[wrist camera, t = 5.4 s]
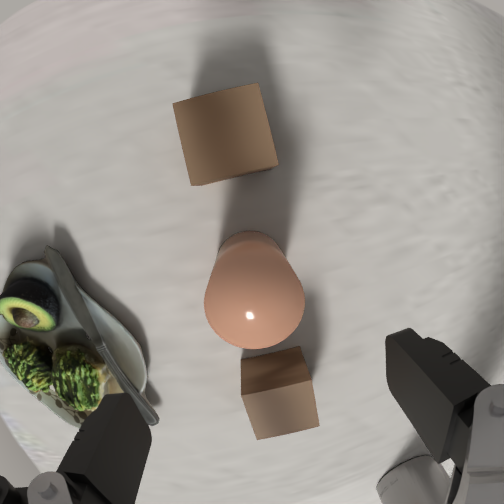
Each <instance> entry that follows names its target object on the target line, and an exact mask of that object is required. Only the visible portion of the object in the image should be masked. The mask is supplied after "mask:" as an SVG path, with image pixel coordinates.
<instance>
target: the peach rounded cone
mask: <svg viewBox="0 0 504 504" xmlns="http://www.w3.org/2000/svg"><path fill="white" fill-rule="evenodd" d="M304 307H305V296H304V291H303V287H302V285H301V283H300V281H299V279H298V277H297V276H296V274H295V272H294V271H293V269H292V267H291V266H290V264H289V262H288V261H287V259H286V258H285V256H284V254H283V253H282V251H281V249H280V248H279V246H278V245H277V243H276V242H275V241H274V240H273V239H272V238H270V237H269V236H267V235H265V234H263V233H261V232H256V231H244V232H240V233H237V234H235V235H233V236H231V237H230V238H229V239H227V240H226V241H225V242H224V243H223V245H222V246H221V248H220V250H219V252H218V255H217V258H216V261H215V264H214V267H213V270H212V273H211V276H210V280H209V283H208V286H207V289H206V292H205V297H204V309H205V314H206V317H207V320H208V322H209V324H210V326H211V328H212V329H213V330H214V331H215V333H216V334H217V335H218V336H219V337H221V338H222V339H223V340H225V341H226V342H228V343H230V344H232V345H234V346H237V347H241V348H246V349H261V348H267V347H270V346H273V345H275V344H278V343H280V342H281V341H283V340H284V339H286V338H287V337H288V336H289V335H290V334H292V333H293V331H294V330H295V329H296V328H297V326H298V324H299V323H300V321H301V319H302V316H303V313H304Z"/></svg>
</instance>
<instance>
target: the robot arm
mask: <svg viewBox="0 0 504 504" xmlns="http://www.w3.org/2000/svg"><path fill="white" fill-rule="evenodd" d="M385 346H386V377H387V383H388V386H389V389H390V391H391V393H392V395H393V396H394V398H395V399H396V401H397V402H398V404H399V405H400V407H401V408H402V410H403V411H404V413H405V414H406V416H407V417H408V419H409V420H410V422H411V423H412V425H413V426H414V428H415V429H416V431H417V432H418V434H419V435H420V437H421V438H422V440H423V442H424V443H425V445H426V446H427V448H428V449H429V451H430V452H431V454H432V455H433V457H434V459H435V460H434V459H433V457H431V456H420V457H416V458H414V459H411V460H409V461H407V462H405V463H403V464H401V465H399V466H397V467H396V468H394V469H393V470H391V471H390V472H389V473H388V474H386V475H385V476H384V477H383V478H382V479H381V481H380V482H379V483H378V485H377V492H378V494H379V497H380V499H381V502H382V504H504V384H497V385H493V386H491V385H490V384H489V383H488V382H487V381H485V380H484V379H483V378H482V377H481V376H480V375H479V374H478V373H477V372H476V371H474V370H473V369H472V368H471V367H470V366H469V365H468V364H467V363H466V362H464V361H463V360H461V359H460V357H459V356H458V355H456V354H455V353H453V352H452V350H451V349H450V348H448V347H447V346H446V345H445V344H444V343H443V342H440V341H438V340H435V339H432V338H430V337H427V338H425V339H422V338H421V337H420V336H419V335H418V334H417V333H416V332H415V331H414V330H413V329H411V328H407V329H404V330H401V331H399V332H396V333H393V334H390V335H388V336H387V337H386V340H385ZM151 442H152V437H151V431H150V428H149V426H148V424H147V423H146V421H145V419H144V418H143V416H142V414H141V412H140V411H139V409H138V407H137V405H136V403H135V402H134V400H133V398H132V396H131V395H130V394H129V393H114V394H106V395H104V397H103V398H102V400H101V402H100V404H99V405H98V407H97V409H95V410H94V411H93V412H92V413H91V414H90V415H89V416H88V417H87V418H86V419H85V420H84V422H83V423H82V425H81V427H80V429H79V432H77V434H76V436H75V438H74V441H72V443H71V445H70V447H69V449H68V450H67V452H66V454H65V456H64V458H63V460H62V462H61V463H60V465H59V467H58V469H57V471H56V472H45V473H42V474H40V475H38V476H37V477H36V478H34V479H33V480H32V482H31V483H30V485H29V487H23V488H14V487H13V486H12V485H11V484H10V483H9V482H8V481H7V479H6V478H4V477H3V476H0V504H135V500H136V496H137V493H138V489H139V485H140V482H141V478H142V475H143V471H144V467H145V464H146V460H147V457H148V453H149V450H150V446H151ZM449 458H451V459H452V460H453V462H454V463H455V465H454V468H453V472H452V477H451V479H450V477H449V476H448V474H447V473H446V471H445V469H444V468H443V466H442V465H441V463H442V462H444V461H445V460H447V459H449Z"/></svg>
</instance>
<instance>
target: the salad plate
mask: <svg viewBox="0 0 504 504" xmlns="http://www.w3.org/2000/svg"><path fill="white" fill-rule="evenodd" d="M44 253H45V258H44V259H40V260H32V261H26V262H23V263H22V264H20V265H18V266H17V267H16V268H15V269H14V270H13V271H12V272H11V274H10V275H9V277H8V279H7V281H6V284H5V287H4V289H3V292H2V294H1V295H0V361H1V364H2V365H3V367H4V368H5V369H6V371H7V372H8V373H9V374H10V375H11V377H12V378H13V379H14V380H15V381H17V382H18V383H19V384H20V385H21V386H22V387H23V388H24V389H26V390H27V391H28V392H29V393H30V394H32V395H33V396H34V397H35V398H36V399H38V400H39V401H40V402H41V403H43V404H44V405H45V406H46V407H47V408H48V409H49V410H50V411H52V412H53V413H54V414H56V415H57V416H58V417H59V418H61V419H63V420H64V421H65V422H67V423H68V424H70V425H72V426H73V427H76V428H79V429H80V427H81V425H82V423H83V422H84V420H85V419H86V418H87V417H88V416H89V415H90V414H91V413H92V412H93V411H94V410H95V409H97V407H98V405H99V404H100V402H101V400H102V398H103V397H104V395H106V394H114V393H129V394H130V395H131V396H132V398H133V400H134V402H135V403H136V405H137V407H138V409H139V411H140V412H141V414H142V416H143V418H144V419H145V421H146V423H147V424H148V425H151V426H154V425H157V424H158V423H159V417H158V415H157V413H156V412H155V410H154V409H153V407H152V406H151V405H150V403H149V401H148V400H147V398H146V395H145V389H146V383H147V378H148V372H147V369H146V364H145V360H144V357H143V354H142V349H141V346H140V345H139V343H138V342H137V341H136V339H135V338H134V337H133V335H132V334H131V333H130V332H129V331H128V330H127V329H126V328H125V327H124V326H123V325H122V324H121V323H120V322H119V321H118V320H117V319H116V318H115V317H114V316H113V315H112V314H111V313H109V312H108V311H107V310H105V309H104V308H103V307H102V306H100V305H99V304H98V303H97V302H96V301H95V300H94V299H92V298H91V297H90V296H89V295H88V294H86V293H85V291H84V290H83V289H82V288H81V287H80V286H79V285H78V284H77V282H76V281H75V279H74V277H73V275H72V273H71V271H70V269H69V268H68V266H67V264H66V263H65V261H64V260H63V258H62V256H61V255H60V253H59V252H58V251H57V250H55V249H53V248H51V247H50V246H46V248H45V251H44ZM16 331H17V333H16ZM86 333H87V335H88V336H89V337H90V340H89V339H88V338H87V336H86ZM48 347H49V348H50V349H51V351H52V352H50V351H49V349H48ZM50 385H53V386H54V388H55V392H54V391H53V390H51V389H50V387H49V386H50Z"/></svg>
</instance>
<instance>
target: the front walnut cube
mask: <svg viewBox="0 0 504 504" xmlns="http://www.w3.org/2000/svg"><path fill="white" fill-rule="evenodd" d="M173 108H174V113H175V118H176V122H177V127H178V131H179V136H180V140H181V144H182V149H183V153H184V157H185V162H186V166H187V170H188V174H189V178H190V183H191V186H202V185H206V184H210V183H214V182H218V181H222V180H226V179H230V178H234V177H239V176H243V175H247V174H251V173H256V172H260V171H265V170H269V169H272V168H274V167H275V166H277V165H279V163H278V159H277V155H276V151H275V147H274V143H273V138H272V134H271V130H270V126H269V122H268V119H267V115H266V111H265V107H264V103H263V99H262V95H261V92H260V88H259V84H258V83H254V84H249V85H244V86H239V87H235V88H230V89H226V90H221V91H217V92H213V93H209V94H205V95H201V96H198V97H194V98H190V99H187V100H183V101H180V102H176V103H173Z"/></svg>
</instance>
